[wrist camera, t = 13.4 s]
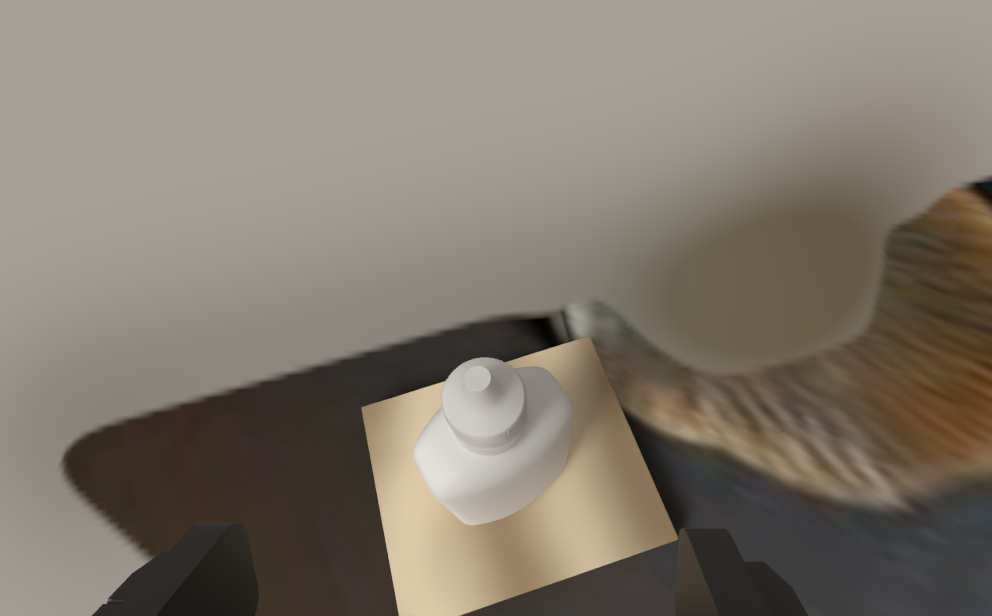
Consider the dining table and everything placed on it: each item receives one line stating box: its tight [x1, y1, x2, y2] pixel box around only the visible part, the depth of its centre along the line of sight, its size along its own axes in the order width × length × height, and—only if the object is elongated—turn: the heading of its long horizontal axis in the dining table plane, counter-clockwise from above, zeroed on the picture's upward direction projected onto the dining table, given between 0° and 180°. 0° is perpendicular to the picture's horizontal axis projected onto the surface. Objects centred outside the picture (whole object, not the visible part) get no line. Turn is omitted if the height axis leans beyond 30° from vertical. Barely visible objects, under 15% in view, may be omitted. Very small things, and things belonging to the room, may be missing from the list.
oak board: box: [361, 336, 678, 616], centre depth 25 cm, size 12×10×1 cm
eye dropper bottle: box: [413, 357, 574, 525], centre depth 19 cm, size 4×6×12 cm
